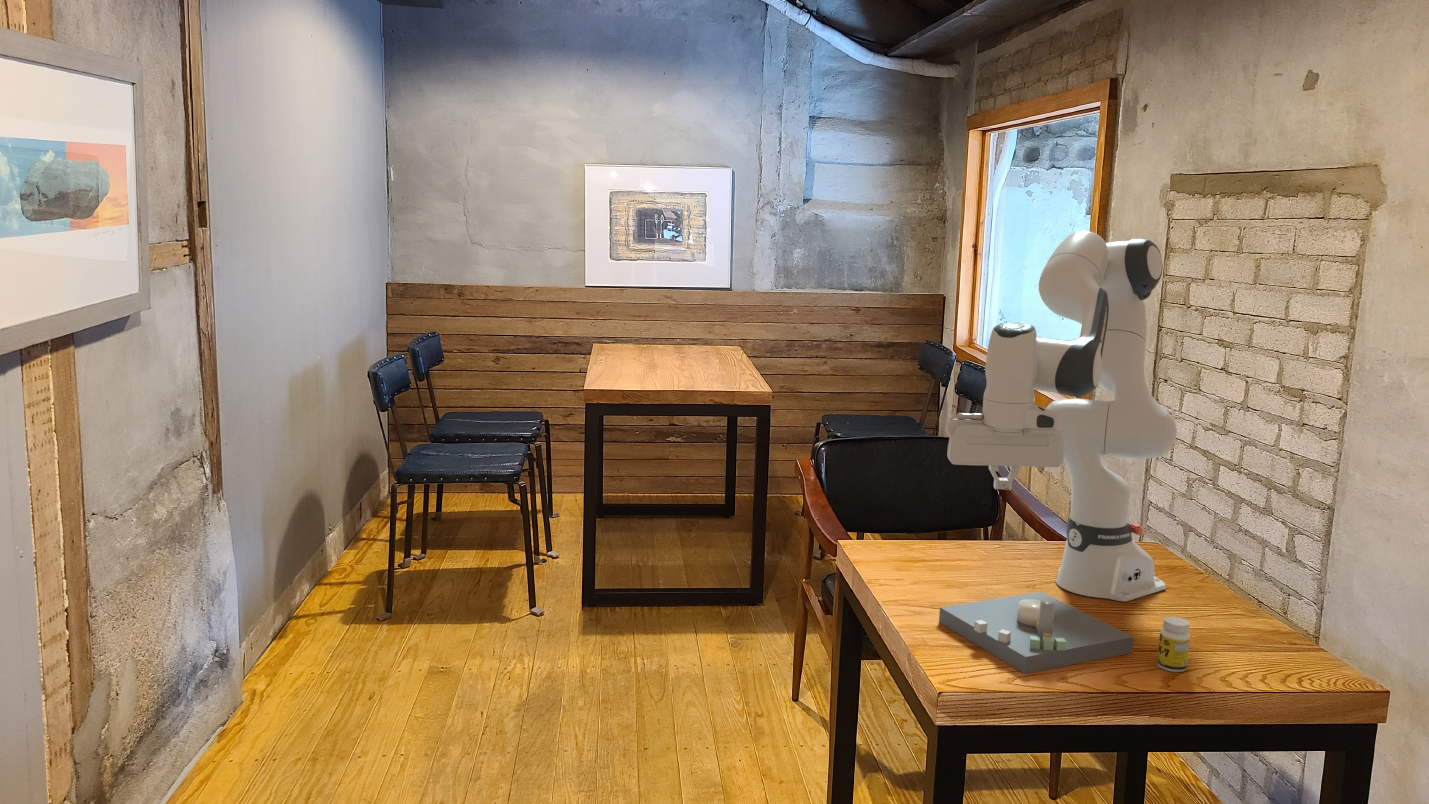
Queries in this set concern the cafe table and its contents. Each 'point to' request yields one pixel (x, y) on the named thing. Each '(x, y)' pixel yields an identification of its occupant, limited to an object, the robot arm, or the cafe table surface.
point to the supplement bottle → (1174, 645)
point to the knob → (1037, 615)
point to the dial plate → (1035, 633)
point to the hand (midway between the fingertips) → (1002, 488)
